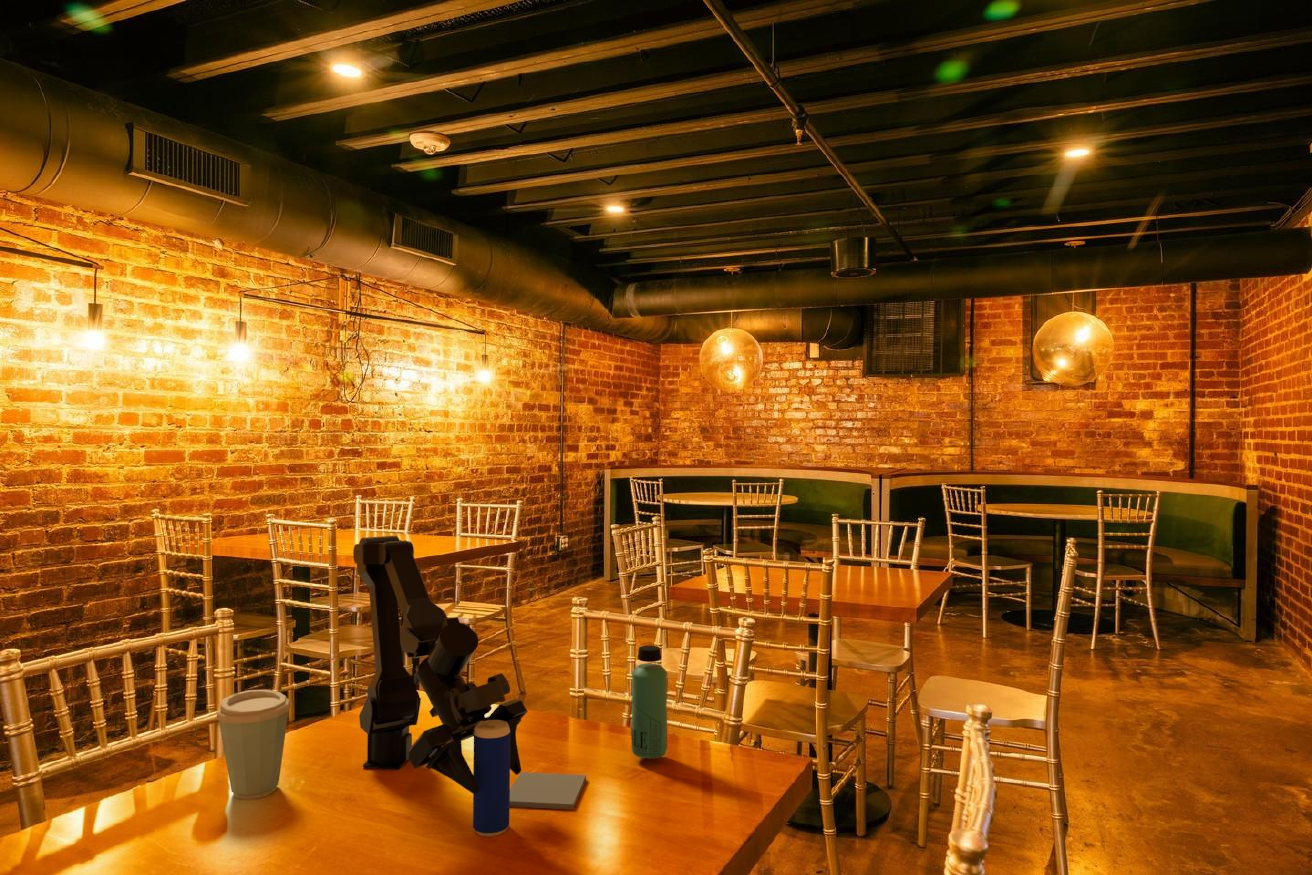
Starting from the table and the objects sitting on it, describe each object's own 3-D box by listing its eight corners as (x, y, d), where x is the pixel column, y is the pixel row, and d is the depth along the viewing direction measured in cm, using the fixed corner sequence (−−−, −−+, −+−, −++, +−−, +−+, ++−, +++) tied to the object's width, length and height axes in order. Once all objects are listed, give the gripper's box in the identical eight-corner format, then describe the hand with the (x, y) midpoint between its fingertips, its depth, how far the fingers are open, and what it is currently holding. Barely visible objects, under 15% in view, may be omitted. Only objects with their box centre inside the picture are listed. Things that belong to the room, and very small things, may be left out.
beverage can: (513, 821, 120) (514, 719, 120) (503, 838, 115) (504, 731, 115) (479, 820, 120) (480, 718, 120) (467, 836, 115) (469, 730, 115)
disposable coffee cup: (305, 785, 132) (306, 692, 132) (247, 812, 122) (248, 712, 122) (259, 773, 136) (260, 684, 136) (199, 799, 127) (200, 702, 127)
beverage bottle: (672, 755, 145) (673, 643, 146) (660, 769, 139) (661, 652, 139) (638, 751, 148) (639, 640, 148) (624, 764, 141) (625, 649, 141)
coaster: (502, 805, 125) (502, 800, 125) (521, 776, 136) (521, 772, 136) (573, 809, 124) (573, 804, 124) (586, 779, 135) (586, 775, 135)
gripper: (422, 673, 112) (477, 773, 106) (519, 646, 127) (572, 732, 121) (386, 719, 117) (436, 817, 110) (484, 688, 132) (533, 772, 125)
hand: (498, 782), depth 117 cm, fingers open, 8 cm apart
